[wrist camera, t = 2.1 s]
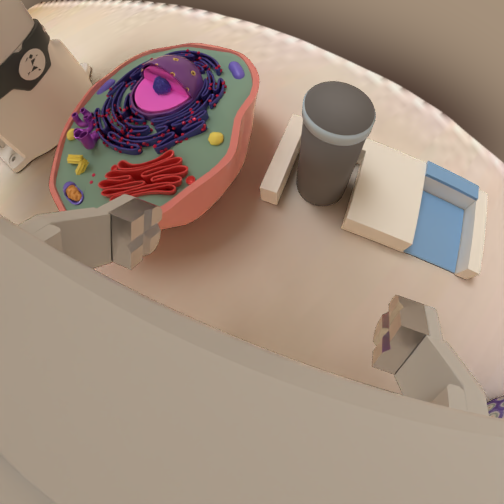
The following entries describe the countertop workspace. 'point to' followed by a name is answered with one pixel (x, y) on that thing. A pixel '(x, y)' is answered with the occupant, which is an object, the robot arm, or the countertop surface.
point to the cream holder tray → (401, 203)
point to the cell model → (159, 132)
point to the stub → (331, 139)
